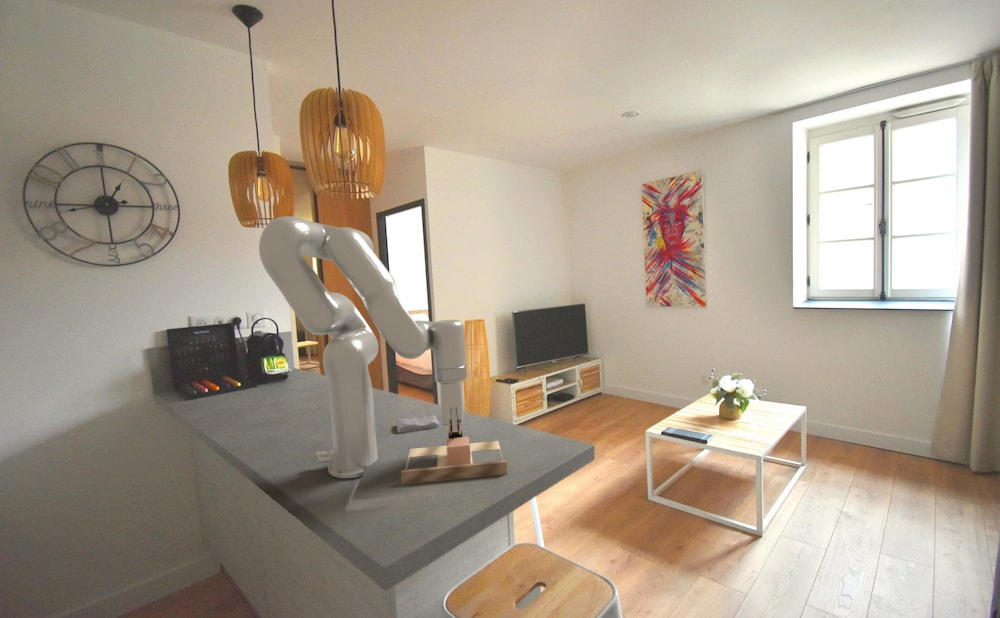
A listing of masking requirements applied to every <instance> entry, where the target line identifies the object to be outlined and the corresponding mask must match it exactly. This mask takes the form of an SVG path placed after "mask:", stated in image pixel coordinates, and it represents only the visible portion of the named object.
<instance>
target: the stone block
mask: <svg viewBox="0 0 1000 618" xmlns="http://www.w3.org/2000/svg"><path fill="white" fill-rule="evenodd" d="M396 426H397V427H396V432H397V433H398V434H403V433H410V432H416V431H424V430H430V429H436V428H437V429H438V428H440V427H441V426H440V422H439V420H438V419H437V416H436V415H434V414H427V415H420V416H418V417H416V418H415V417H414V418H413V417H412V418H411V417H408V418H407V417H405V418H398V419H397V425H396Z"/></svg>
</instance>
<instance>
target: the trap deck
mask: <svg viewBox="0 0 1000 618" xmlns="http://www.w3.org/2000/svg"><path fill="white" fill-rule="evenodd" d="M469 444H470V459H471V464H461V465H450V466H448V459H447V445H437V446H429V447H416V448H410V449H409V451H408V456H407V460H406V464H405V469H401V471H400V481H401V485H407V484H417V483H427V482H438V481H447V480H448V481H450V480H459V479H468V478H477V477H478V478H479V477H488V476H490V477H491V476H499V475H507V474H508V461H507V459H504V457H503V453H502V449H501V446H500V442H499V440H494V441H492V440H491V441H482V442H471V443H470V442H469ZM492 450H493V451H494V450H498V453H499V456H500V460H493V461H484V462H483V461H482V462H481V461H480V462H473V455H472V454H473V452H482V451H492ZM429 456H437V460H436V461H437V462H436V466H433V467H432V466H431V467H430V466H429V467H419V468H411V469H408V468H409V464H410V461H411V458H418V457H429Z"/></svg>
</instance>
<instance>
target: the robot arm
mask: <svg viewBox="0 0 1000 618" xmlns="http://www.w3.org/2000/svg"><path fill="white" fill-rule="evenodd" d="M258 243H259V244H258V251H259V252H258V253H259V258H260V261H261V264H262V265H263V267H264V270H265V272H266V273H267V274H268V276H269V277H270V278H271V280H272V281H273V283H274V285H275V286H276V287H277V288H278V290H279V291H280V293H281V294H282V296H283V298H284V299H285V300H286V302H287V303H288V305H289V306H290V308H291V309H292V311H293V312H294V314H295V316H296V317H297V318H298V320H299V321H300V323H301V324H302V326H303V327H304V328H305V329H306V330H307V331H308V332H309V333H311V334H313V335H317V336H326V335H328V337H330V339H331V340H330V341H329V342H328V343H327V344H326V346H325V348H324V350H323V354H322V365H323V370H324V374H325V379H326V383H327V390H328V391H327V392H328V399H329V407H330V418H331V419H330V420H331V421H330V422H331V429H332V430H331V431H332V433H331V434H332V441H333V448H332V449H330V450H329V451H325V450H323V451H322V450H320V451H316V454H315V461H318V464H325V463H329V465H328V468H327V469H328V470H327V471H328V474H329V475H330V476H331V477H334V478H338V479H354V478H360V477H363V476H364V473H365V471H366V469H367V467H368V466H371V465H372V464H374V463H375V462H376V461H377V460H378V456H379V455H378V445H377V444H378V442H377V431H376V420H375V418H376V417H375V407H374V406H375V405H374V393H373V385H372V380H371V374H370V372H369V365H370V364H371V363H372V362H373V361H374V360H375V359H376V357H377V355H378V353H379V341H378V339H377V337H376V335H375V333H374V332H373V330H372V328H371V327H370V326H369V324H368V323H367V321H366V320H365V318H364V317H363V315H362V314H361V313H360V310H358V308H357V307H356V305H355V304H354V303H353V301H352V300H351V299H349V298H348V297H347V296H346V295H344V294H342V293H340V292H334V291H332V292H330V290H328V289H327V287H326V286H325V285H324V283H323V282H322V280H321V279H320V277H319V275H318V274H317V273H316V271H315V270H314V269H313V268H312V267H311V265H309V263H308V262H307V261H306V260H305V259H304V257H308V258H309V257H310V258H315V259H320V260H325V261H330V262H333V264H335V266H336V267H337V269H338V270H339V271H340V273H341V274H342V275H343V276H344V278H345V279H346V280H347V281H348V282H349V285H351V287H352V288H353V289H354V290H355V293H356V294H357V295H358V296H359V297H360V300H361V301H362V302H363V305H364V307H365V309H366V312H367V313H368V315H369V317H370V319H371V321H372V323H373V324H374V326H375V329H377V330H378V332H379V333H380V335H381V337H382V338H383V339H384V340H385V342H386V343H388V345H389V347H390V348H391V349H392V350H393V351H394V352H395V353H396V354H397V355H398V356H399V357H401V358H403V359H406V360H415V359H417V358H419V357H421V356H423V355H424V354H425V353H426V352H427V351H428V350H432V354H433V355H432V356H433V368H434V382H435V383H438V384H439V395H440V397H439V398H440V399H439V400H440V409H441V410H440V411H441V413H440V414H441V423H442V426H443V427H446V426H448V439H450V438H460V437H463V430H462V427H461V425H463V424H464V415H465V414H464V412H465V411H464V410H465V409H464V408H465V405H464V383H463V382H464V381H466V380H467V379H468V368H467V354H466V352H467V351H466V350H467V349H466V337H465V327H464V324H463V322H462V321H461V320H459V319H443V320H438V321H431V320H429V321H428V320H427V321H426V320H414V318H413V317H412V316H411V315H410V312H408V310H407V308H406V307H405V306H404V305H403V302H402V300H401V299H400V296H399V294H398V292H397V285H396V281H395V278H394V277H393V275H392V273H390V271H389V270H388V269H387V267H386V265H384V263H383V262H382V261H381V260H380V258H379V256H378V255H377V254H376V253H375V249H374V248H375V247H374V244H373V243H374V242H373V240H372V239H371V238H370V236H369V235H368V234H366V233H365V232H364V231H361V230H358V229H357V228H353V227H348V226H347V227H346V226H345V227H338V226H333V225H328V224H323V223H321V222H320V223H319V222H314V221H312V220H307V219H304V218H301V217H297V216H290V215H289V216H288V215H287V216H285V215H283V216H279V217H276V218H273V219H272V220H270V221H269V222H268V223H267V225H266V226H265V227H264V229H263V231H262V232H261V234H260V238H259V242H258Z"/></svg>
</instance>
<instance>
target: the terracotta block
mask: <svg viewBox="0 0 1000 618" xmlns="http://www.w3.org/2000/svg"><path fill="white" fill-rule="evenodd" d="M469 443H470V438H469V436H462V437H460V438H450V439H449V438H446V446H447V459H448V466H450V465H461V464H471V459H470V444H469Z"/></svg>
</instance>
